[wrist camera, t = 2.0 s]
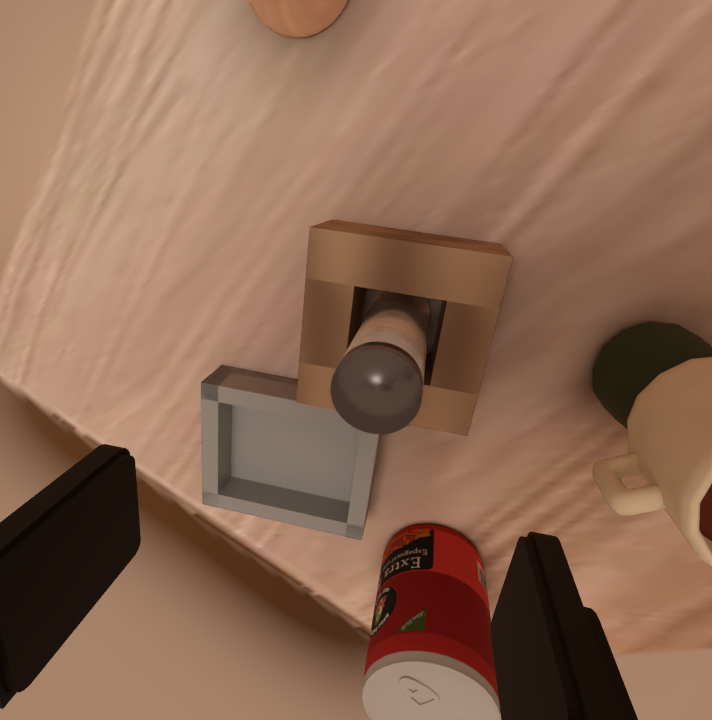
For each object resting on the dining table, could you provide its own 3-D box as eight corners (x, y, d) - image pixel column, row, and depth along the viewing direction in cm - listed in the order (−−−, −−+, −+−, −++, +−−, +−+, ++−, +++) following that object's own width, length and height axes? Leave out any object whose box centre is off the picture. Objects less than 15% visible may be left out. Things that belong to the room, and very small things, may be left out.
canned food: (418, 503, 34) (408, 640, 23) (506, 558, 34) (533, 717, 24) (364, 562, 37) (335, 707, 26) (446, 613, 37) (447, 774, 27)
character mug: (566, 442, 30) (650, 615, 18) (535, 346, 28) (605, 469, 16) (759, 393, 27) (1018, 564, 15) (738, 281, 25) (1017, 373, 13)
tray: (387, 396, 31) (381, 417, 28) (367, 511, 35) (361, 540, 32) (221, 365, 32) (200, 382, 29) (220, 479, 36) (202, 504, 33)
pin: (434, 289, 28) (430, 359, 17) (424, 343, 29) (413, 441, 18) (376, 280, 28) (335, 342, 17) (369, 334, 29) (326, 424, 18)
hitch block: (500, 244, 26) (512, 256, 21) (463, 397, 30) (467, 436, 25) (332, 219, 27) (309, 227, 23) (317, 370, 31) (296, 402, 26)
